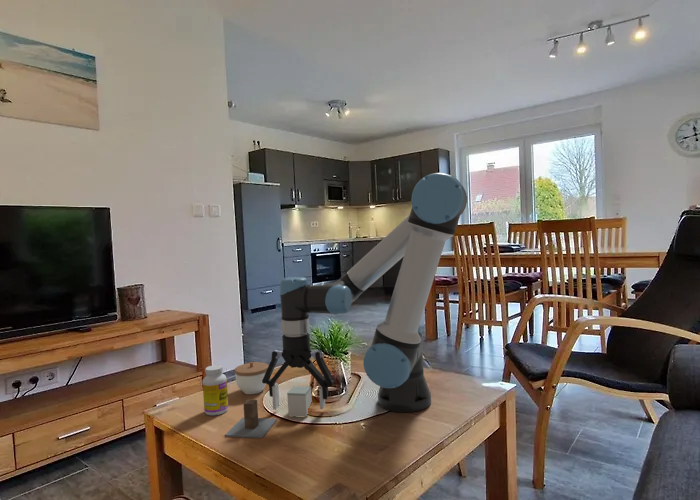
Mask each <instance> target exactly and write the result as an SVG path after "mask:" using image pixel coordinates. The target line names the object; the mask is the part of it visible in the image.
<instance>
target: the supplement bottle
mask: <svg viewBox="0 0 700 500" xmlns="http://www.w3.org/2000/svg"><path fill="white" fill-rule="evenodd" d="M204 372H205V374H206V376H204V378H203V379H202V393H203V395H202V396H203V397H202V398H203V411H204V413H205V415H206V416H219V415H223V414H224V413H226V412H227V411H228V410H229V395H228V378H227V376H226V374H224V373H223V366H222V365H221V364H215V365H208V366H206V367H205V371H204Z"/></svg>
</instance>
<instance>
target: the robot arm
mask: <svg viewBox="0 0 700 500" xmlns="http://www.w3.org/2000/svg"><path fill="white" fill-rule="evenodd" d="M467 204H468V196H467V192H466V189H465V187H464V186H463V185H462V183H461V182H460V181H459V180H458V178H456V177H455V176H453V175H451V174H448V173H443V172H435V173H430V174H427V175H425V176H424V177H422V178H421V179H420V180H419V181H418V182H417V183H416V184H415V186H414V188H413V190H412V193H411V208H410V209H411V210H410V212H409V215H408V216H407V217H406V218H404V220H402V221H401V222H400V223H399V224H398V225H396V227H395V228H393V229H392V230H391V231H390V232H389V233H388V234H387V235H386V236H385V237H384V238H383V239H381V241H379V242H378V243H377V244H376V245H375V246H374V247H373V248H372V249H371V250H370V251H368V252H367V253H366V254H365V255H364V256H363V257H362V258H361V259H360V260H358V262H356V263H355V264H354V265H353V266H352V267H351V268H350V269H349V270H348V271H346V272H345V273H344V274H343V275H341V277H340V278H339V279H338V280H336V281H333V282H330V283H328V284H321V285H320V284H317V285H313V284H309V282H308V279H307V278H306V277H305V276H291V277H286V278H285V277H284V278H283V279H281V281H280V287H279V288H280V289H279V292H280V293H279V297H280V311H281V334H283V335H282V339H281V340H282V350H279V349H278V348H276V349H275V350H273V351H272V352H271V360H270V362H269V364H268V369H267V371H266V373H265V375H264V378H263V380H262V382H263V383H264V384H265V383H266V385H268V388H269V389H268V391H269V397H271V398H272V410H273V411H274V410H277V409H278V408H279V407H280V395H279V383H278V382H277V380H279V378H280V377H281V375H282V374H283V373H284V372H285V370H286V369H287V368H288V367H290V368H299V369H302V368H304V369H305V370H306V371H308V372H309V374H310V375H311V377H313V379H315V381H316V382H317V383H318V384H319V385H320V387H319V389H318V390H319V409H323V408H324V406H325V407H326V400H327V399H328V397H329V387H332V386H333V385H334V383H335V379H334V377H333V374H332V373H331V371H330V369H329V367H328V365H327V363H326V361H325V360H324V358H323V351H322V350H321V349H318V350H317V351H316V350H315V351H312V350H311V337H310V333H309V332H310V317H309V316H310V314H331V315H339V314H340V315H341V314H343V315H344V314H347V313H349V312H350V309H351V308H352V304H353V303H354V302H355V301H356V300H358V298H359V297H360V296H361V295H362V294H363V293H364V292H365V291H366V290H367V289H368V288H369V287H371V286H372V285H373V284H374V283H376V281H377V280H379V279H380V278H381V277H382V276H383V275H385V274H386V272H388V271H389V270H390V269H391V268H392V267H394V266H395V265H396V264H397V263H398V262H399V261H400V260H401V259H402V262H401V265H400V267H399V268H400V269H399V271H398V274H397V278H396V282H395V285H394V288H393V292H392V294H391V295H392V296H391V299H390V300H389V301H390V302H389V305H388V309H387V312H386V316H385V318H384V321H382V322H380V323H378V324H377V325H376V328H375V331H374V334H373V338H372V342H371V345H370V347H369V348H367V350H366V352H365V354H364V356H363V370H364V372H365V374H366V376H367V377H368V379H369V380H370V381H371V382H372V383H374V384H375V385H376V386H378V387H379V388H378V389H379V390H378V393H377V402H378V405H379V406H380V407H381V408H383V409H385V410H388V411H390V412H396V413H413V412H419V411H422V410H425V409H426V408H429V406H430V405H431V404H432V394H431V391H430V388H429V386H428V383H427V380H426V378H425V374H424V373H425V372H424V352H423V351H424V349H423V348H424V347H423V335H424V334H423V331H422V325H421V322H422V318H423V315H424V311H425V309H426V308H425V307H426V306H427V301H428V299H429V295H430V292H431V289H432V285H433V282H434V280H435V276H436V273H437V269H438V266H439V262H440V260H441V257H442V254H443V251H444V247H445V244H446V241H447V240H449V239H451V238H453V237H454V236H455V233H456V230H457V227H458V224H459V220H460V217H461V215H462V214H463V213H464V212H465V209H466V207H467ZM281 357H282V359H284V362H283V364H282V365H281V366H280V368H279V369H278V370H277V371H276V372H275V374H274V375H273V376H272V374H273V372H274V370H275V367H276V366H277V363H278V360H279V359H280V358H281ZM311 358H313V359H314V360H315V361H316V364H317V366H318V368H319V370H320V371H319V370H318V368H317V367H316V366H315V365H314V363H313V361H312V360H311Z"/></svg>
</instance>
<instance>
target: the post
mask: <svg viewBox="0 0 700 500" xmlns="http://www.w3.org/2000/svg"><path fill="white" fill-rule="evenodd" d="M258 410H259V409H258V400H257V399H247V400H246V401H245V402H244V403H243V417H244V420H245V429H255V428H256V427H257V426H258V425H259V423H258V418H259V411H258Z"/></svg>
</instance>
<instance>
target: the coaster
mask: <svg viewBox="0 0 700 500" xmlns="http://www.w3.org/2000/svg"><path fill="white" fill-rule="evenodd" d="M277 421H278V419H277V418H263V417H258V423H259V425H258V426H257V427H256V428H255V429H245V420H244V416H243V417H242V418H240V419H239V421H238V422H236V423H235V424H234V425H233V426H232V427H231V428H229V430H228V431H227V432H226V434H225V435H224V437H229V438H230V437H232V438H248V439H254V438H255V439H263V438H264V437H265V436H266V435H267V433H268V432H269V431H270V430H271V428H272V427H273V426H274V425H275V423H276V422H277Z"/></svg>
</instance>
